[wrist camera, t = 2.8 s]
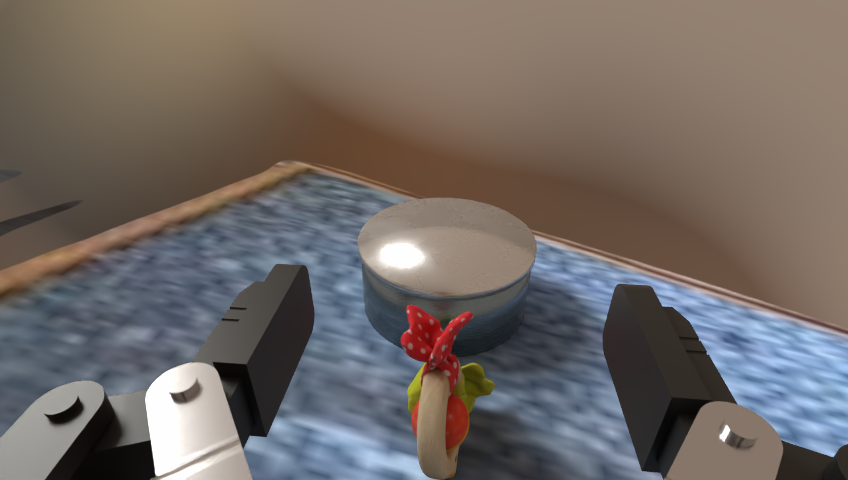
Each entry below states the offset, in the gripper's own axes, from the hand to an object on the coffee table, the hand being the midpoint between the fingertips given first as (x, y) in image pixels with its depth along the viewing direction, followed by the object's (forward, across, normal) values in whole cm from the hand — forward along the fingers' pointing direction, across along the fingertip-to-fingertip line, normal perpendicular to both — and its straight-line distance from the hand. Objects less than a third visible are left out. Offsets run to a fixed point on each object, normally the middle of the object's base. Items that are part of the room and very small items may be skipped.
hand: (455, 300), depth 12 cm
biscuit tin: (+25, +1, +20) cm, 32 cm away
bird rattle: (+10, 0, +20) cm, 23 cm away
